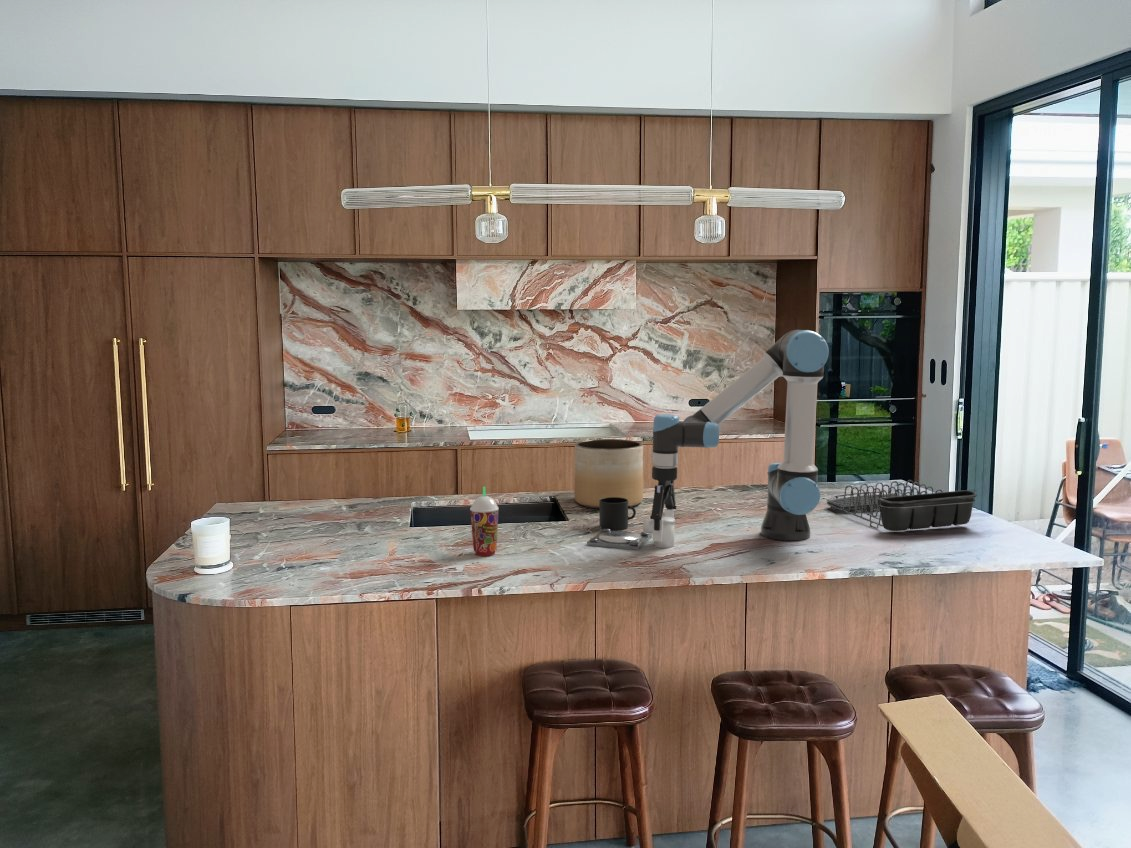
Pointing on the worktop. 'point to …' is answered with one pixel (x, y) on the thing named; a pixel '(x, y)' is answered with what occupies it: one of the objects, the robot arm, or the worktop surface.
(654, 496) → the robot arm
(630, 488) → the planter
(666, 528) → the elbow
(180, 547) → the worktop surface
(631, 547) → the duct flange
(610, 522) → the mug
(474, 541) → the smoothie
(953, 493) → the dish rack
